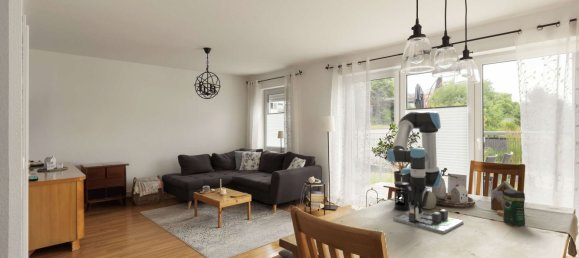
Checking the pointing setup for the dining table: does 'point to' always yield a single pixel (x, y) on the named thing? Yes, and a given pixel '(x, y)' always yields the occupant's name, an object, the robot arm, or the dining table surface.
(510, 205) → the coffee jar
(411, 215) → the orange and grey switch
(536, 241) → the dining table surface
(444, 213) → the breaker back
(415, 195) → the robot arm
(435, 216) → the breaker middle
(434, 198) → the fruit
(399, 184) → the french press
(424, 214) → the panel
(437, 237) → the dining table surface
